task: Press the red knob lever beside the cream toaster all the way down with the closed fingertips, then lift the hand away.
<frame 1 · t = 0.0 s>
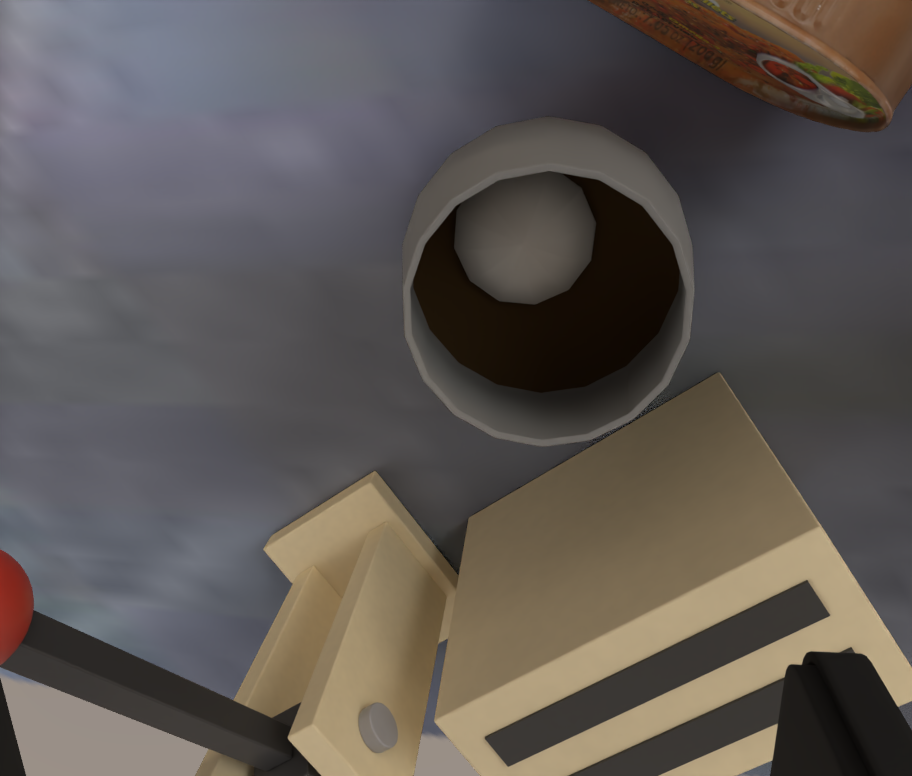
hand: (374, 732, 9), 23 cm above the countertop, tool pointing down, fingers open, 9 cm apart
red knob lever: (159, 698, 22), point 14 cm above the countertop, hinge at 25.0°
toaster: (625, 502, 33), on the countertop
lever bracket: (377, 570, 36), on the countertop
cup: (543, 246, 30), on the countertop
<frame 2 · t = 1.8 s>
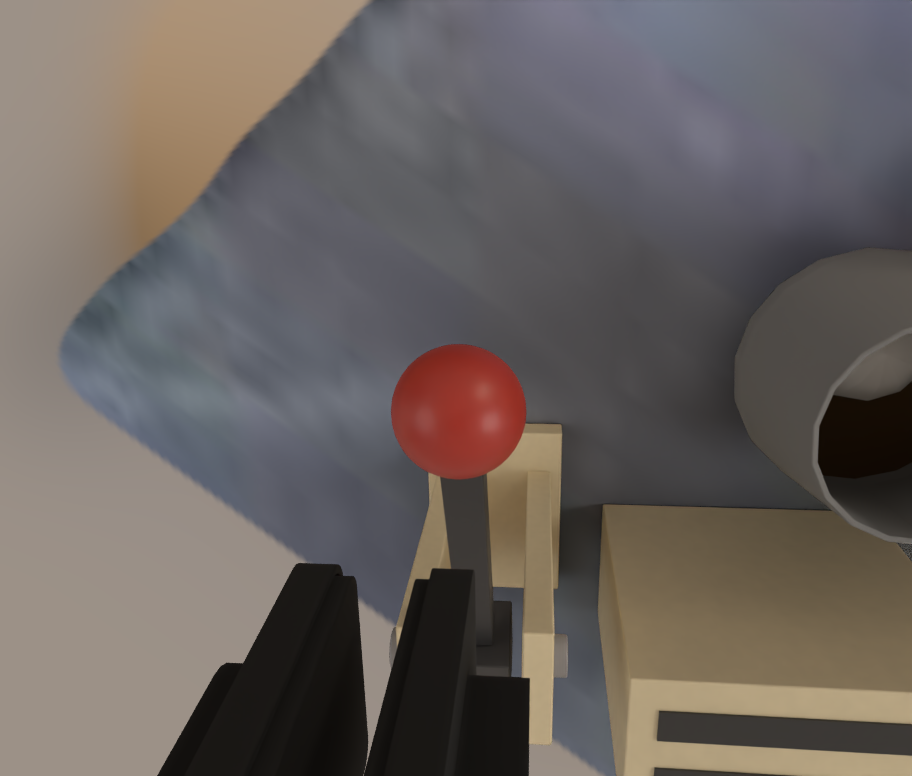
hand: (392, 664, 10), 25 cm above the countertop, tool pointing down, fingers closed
red knob lever: (470, 551, 23), point 14 cm above the countertop, hinge at 25.0°
toaster: (728, 563, 37), on the countertop
lever bracket: (495, 500, 38), on the countertop
cup: (826, 342, 34), on the countertop
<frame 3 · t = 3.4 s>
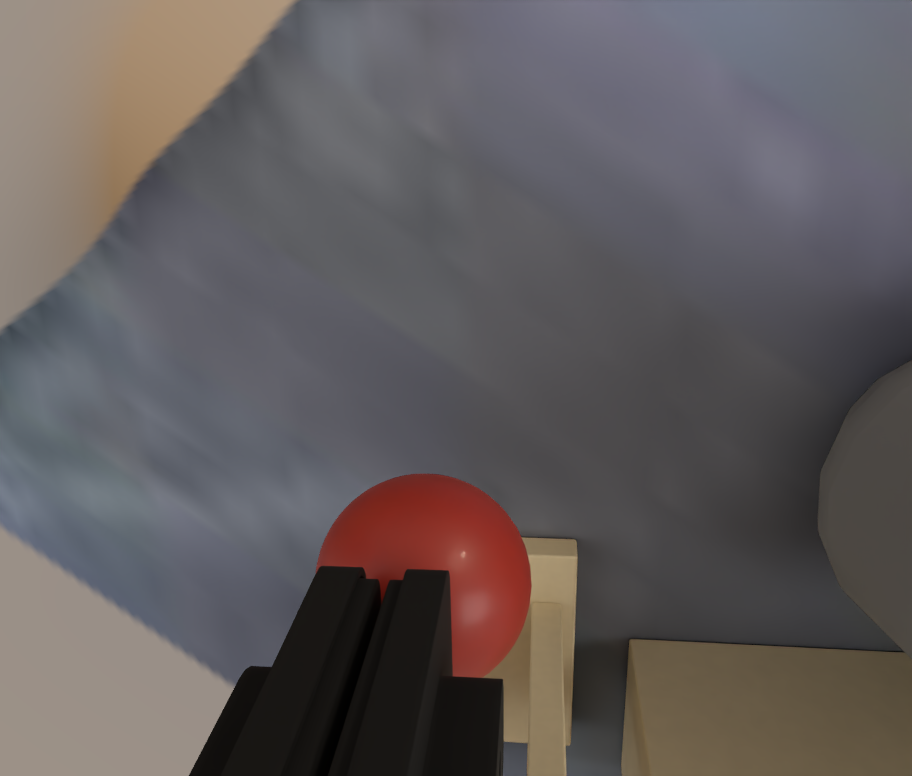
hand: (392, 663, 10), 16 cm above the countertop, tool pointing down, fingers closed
toaster: (792, 714, 29), on the countertop
lever bracket: (490, 630, 29), on the countertop
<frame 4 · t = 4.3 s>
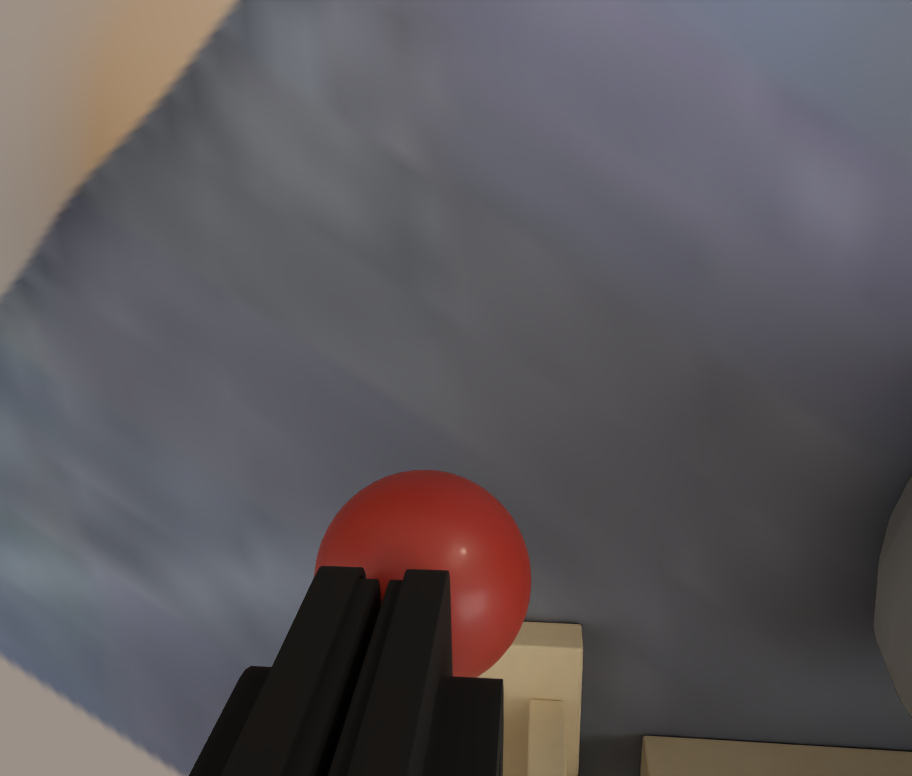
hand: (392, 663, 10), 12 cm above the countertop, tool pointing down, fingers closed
lever bracket: (481, 724, 25), on the countertop
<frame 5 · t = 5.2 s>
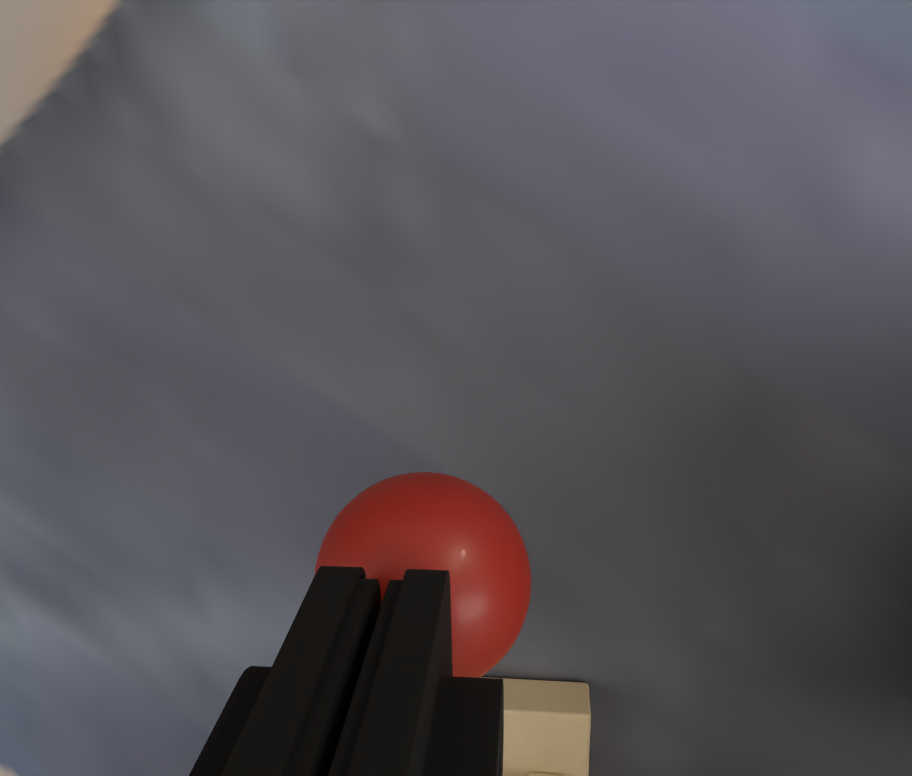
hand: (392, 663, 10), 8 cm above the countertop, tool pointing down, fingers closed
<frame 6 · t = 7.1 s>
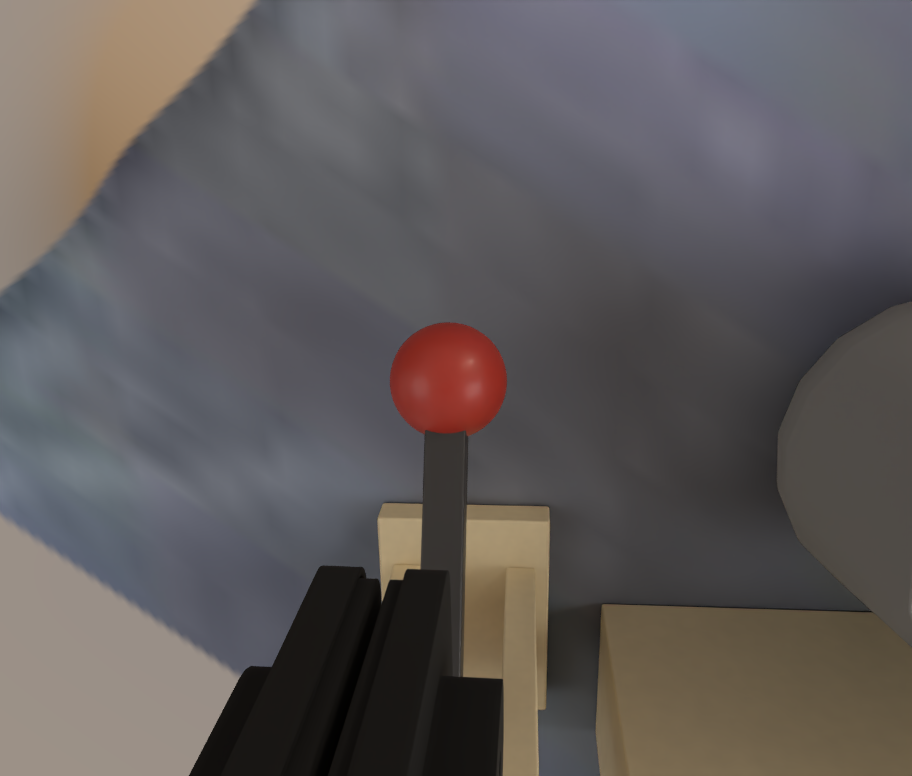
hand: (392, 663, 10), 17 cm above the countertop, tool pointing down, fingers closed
red knob lever: (442, 603, 21), point 8 cm above the countertop, hinge at -30.4°
toaster: (759, 676, 30), on the countertop
lever bracket: (466, 598, 30), on the countertop
cup: (889, 405, 26), on the countertop
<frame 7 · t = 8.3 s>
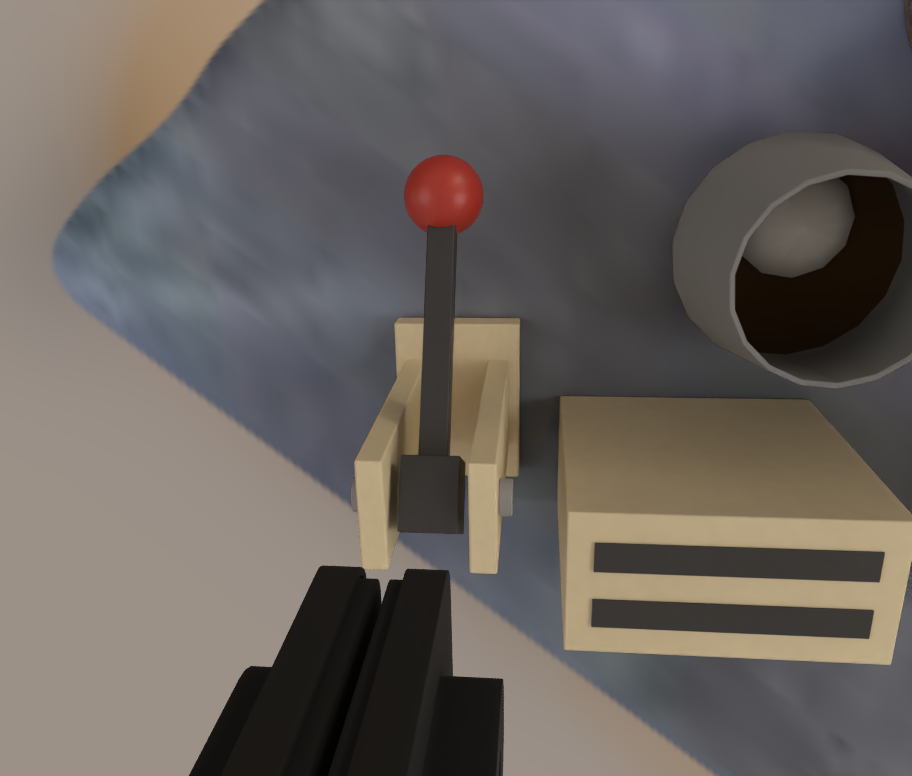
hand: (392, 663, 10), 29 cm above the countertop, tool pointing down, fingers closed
red knob lever: (438, 338, 31), point 8 cm above the countertop, hinge at -30.4°
toaster: (678, 452, 40), on the countertop
lever bracket: (460, 394, 40), on the countertop
cup: (763, 235, 36), on the countertop
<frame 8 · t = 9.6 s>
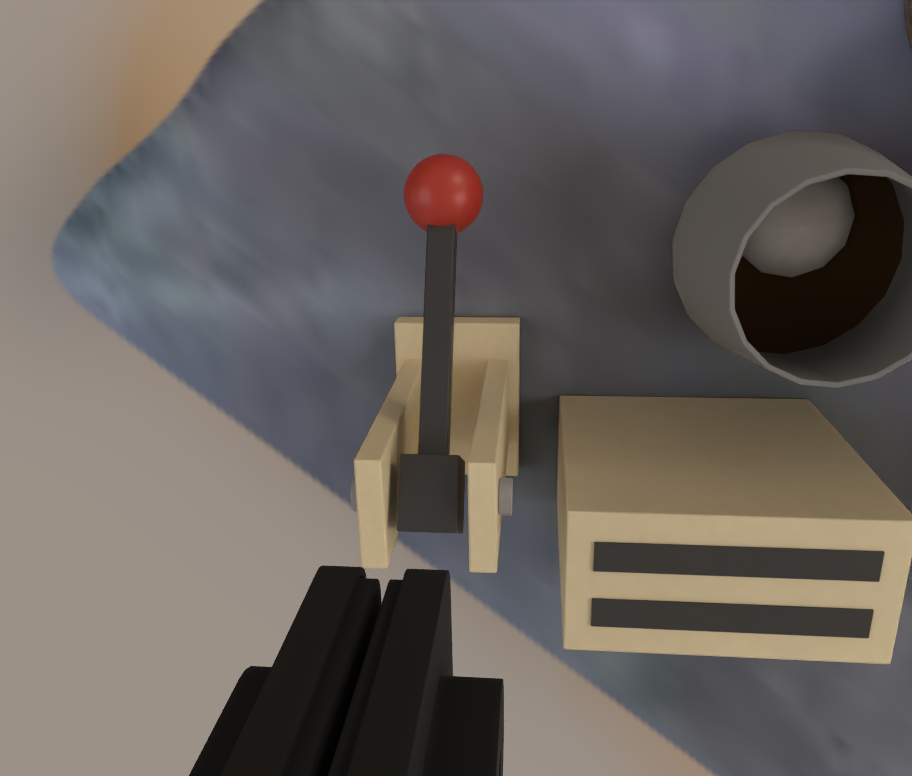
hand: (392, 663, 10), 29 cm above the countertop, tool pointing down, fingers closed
red knob lever: (438, 337, 31), point 8 cm above the countertop, hinge at -30.4°
toaster: (677, 452, 40), on the countertop
lever bracket: (460, 393, 40), on the countertop
cup: (763, 235, 36), on the countertop
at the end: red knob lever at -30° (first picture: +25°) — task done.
